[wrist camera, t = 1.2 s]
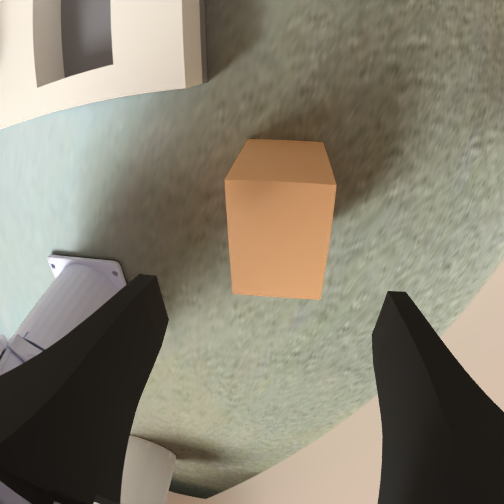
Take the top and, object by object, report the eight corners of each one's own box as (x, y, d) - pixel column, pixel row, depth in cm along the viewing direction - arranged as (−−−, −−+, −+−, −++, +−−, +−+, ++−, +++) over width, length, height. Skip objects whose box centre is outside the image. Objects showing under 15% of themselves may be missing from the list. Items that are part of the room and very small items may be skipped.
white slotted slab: (204, -76, 8) (151, -131, 3) (207, 81, 14) (149, 100, 8) (-35, 36, 11) (-96, 55, 5) (-24, 136, 17) (-81, 171, 11)
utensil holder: (107, 424, 49) (81, 495, 35) (177, 447, 49) (156, 524, 35) (122, 444, 58) (102, 503, 44) (180, 463, 58) (164, 525, 44)
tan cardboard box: (315, 230, 18) (320, 299, 14) (250, 226, 19) (232, 293, 14) (323, 142, 15) (336, 185, 10) (248, 138, 16) (224, 179, 11)
